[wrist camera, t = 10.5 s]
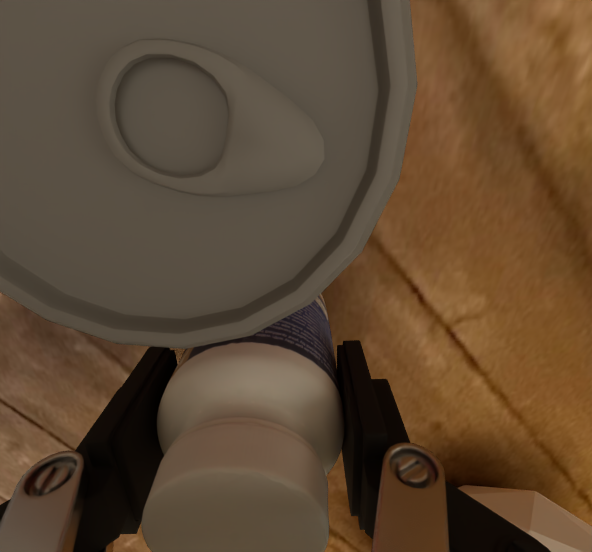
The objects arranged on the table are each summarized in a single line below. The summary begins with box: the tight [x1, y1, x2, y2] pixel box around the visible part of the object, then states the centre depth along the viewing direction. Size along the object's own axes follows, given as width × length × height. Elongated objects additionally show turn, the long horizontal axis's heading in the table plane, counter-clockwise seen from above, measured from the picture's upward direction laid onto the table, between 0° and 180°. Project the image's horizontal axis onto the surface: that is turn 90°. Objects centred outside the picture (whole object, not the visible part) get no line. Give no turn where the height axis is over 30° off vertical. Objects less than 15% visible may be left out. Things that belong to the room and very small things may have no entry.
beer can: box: [0, 0, 417, 349], centre depth 9 cm, size 7×7×12 cm
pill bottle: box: [141, 294, 345, 552], centre depth 12 cm, size 5×5×10 cm
